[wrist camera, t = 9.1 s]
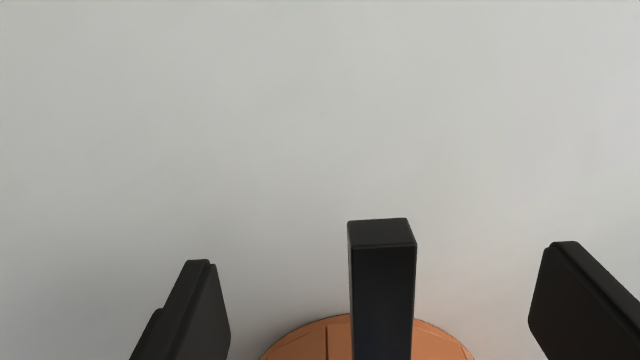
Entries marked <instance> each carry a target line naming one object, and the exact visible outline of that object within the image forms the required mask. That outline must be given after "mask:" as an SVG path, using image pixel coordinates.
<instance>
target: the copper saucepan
mask: <svg viewBox="0 0 640 360" xmlns="http://www.w3.org/2000/svg"><path fill="white" fill-rule="evenodd" d="M347 238H348V265H349V293H350V314H345V315H340V316H335V317H330V318H326V319H322V320H319V321H316V322H313V323H310V324H308V325H305V326H303V327H301V328H299V329H296V330H295V331H293V332H291V333H289V334H288V335H286V336H284V337H283V338H281V339H280V340H279V341H277V342H276V343H275V344H274V345H272V346H271V347H270V348H269V349H268V350H267V351H266V352H265V353H264V354H263V355H262V357H261V358H260V359H259V360H474V359H473V357H472V355H471V354H470V353H469V352H468V351H467V349H466V348H465V347H464V346H463V345H462V344H461V343H460V342H458V341H457V340H456V339H455V338H454V337H453V336H451V335H449V334H448V333H446V332H445V331H443V330H442V329H440V328H437V327H435V326H433V325H431V324H429V323H426V322H423V321H420V320H417V319H414V318H413V316H414V298H415V280H416V261H417V242H416V240H415V238H414V235H413V233H412V230H411V228H410V225H409V223H408V221H407V219H406V218H388V219H370V220H353V221H348V223H347Z"/></svg>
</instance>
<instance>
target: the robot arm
mask: <svg viewBox="0 0 640 360" xmlns="http://www.w3.org/2000/svg"><path fill="white" fill-rule="evenodd" d="M528 325H529V328H530V331H531V333H532V334H533V336H534V337H535V339H536V341H537V342H538V344H539V345H540V347H541V349H542V350H543V352H544V353H545V355H546V357H547V358H548V360H640V302H639V301H638V300H637V299H636V298H635V297H634V296H633V295H632V294H631V293H630V292H629V291H628V290H627V289H626V288H625V287H623V286H622V285H621V284H620V283H619V282H618V281H617V280H616V279H615V278H614V277H613V276H612V275H611V274H610V273H609V272H608V271H607V270H606V269H605V268H604V267H603V266H602V265H601V264H600V263H599V262H598V261H597V260H596V259H595V258H594V257H593V256H592V255H591V254H590V253H589V252H587V251H586V250H585V249H584V248H583V247H582V246H581V245H580V244H579V243H578V242H576V241H564V242H553V243H551V244H550V246H549V247H548V248H545V250H544V252H543V256H542V260H541V265H540V269H539V273H538V277H537V282H536V286H535V290H534V294H533V299H532V303H531V307H530V311H529V315H528ZM230 341H231V332H230V327H229V322H228V318H227V313H226V309H225V304H224V300H223V295H222V290H221V286H220V281H219V277H218V272H217V268H216V265H215V264H210V262H209V260H207V259H200V260H188V261H186V263H185V264H184V266H183V268H182V270H181V273H180V275H179V277H178V279H177V281H176V283H175V285H174V287H173V289H172V291H171V293H170V295H169V297H168V299H167V301H166V303H165V305H164V307H163V308H158V309H157V310H155V311H154V313H153V314H152V316H151V318H150V320H149V322H148V324H147V326H146V328H145V330H144V331H143V333H142V335H141V337H140V339H139V341H138V343H137V345H136V347H135V349H134V351H133V353H132V355H131V357H130V359H129V360H226V359H227V355H228V351H229V347H230Z"/></svg>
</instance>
